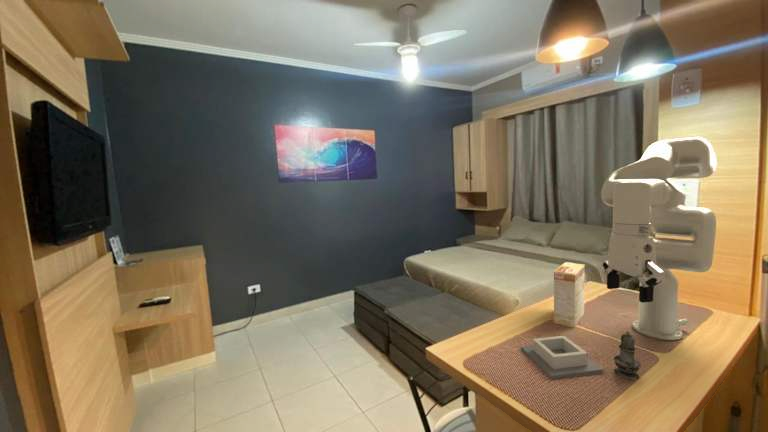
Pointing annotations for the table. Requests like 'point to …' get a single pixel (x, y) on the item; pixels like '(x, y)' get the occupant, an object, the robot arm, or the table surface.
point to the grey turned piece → (627, 359)
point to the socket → (560, 358)
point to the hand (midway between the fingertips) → (628, 294)
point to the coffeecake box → (569, 294)
